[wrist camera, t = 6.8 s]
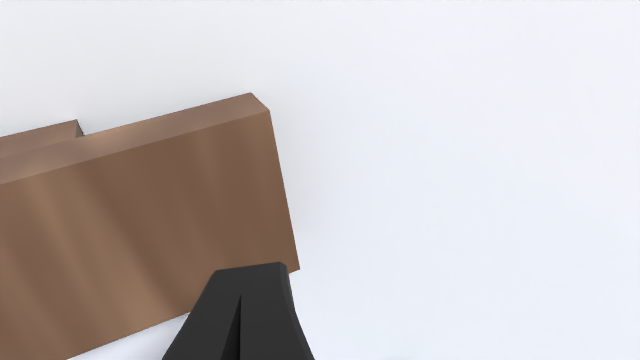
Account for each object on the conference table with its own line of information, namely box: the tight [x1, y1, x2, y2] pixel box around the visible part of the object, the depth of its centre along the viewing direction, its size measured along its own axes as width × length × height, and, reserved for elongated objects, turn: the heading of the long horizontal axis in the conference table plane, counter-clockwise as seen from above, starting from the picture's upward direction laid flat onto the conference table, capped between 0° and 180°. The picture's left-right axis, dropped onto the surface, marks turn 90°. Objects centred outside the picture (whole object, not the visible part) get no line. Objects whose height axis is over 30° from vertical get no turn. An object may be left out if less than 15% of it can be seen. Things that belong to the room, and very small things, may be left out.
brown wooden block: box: [0, 93, 300, 360], centre depth 12 cm, size 2×5×8 cm
